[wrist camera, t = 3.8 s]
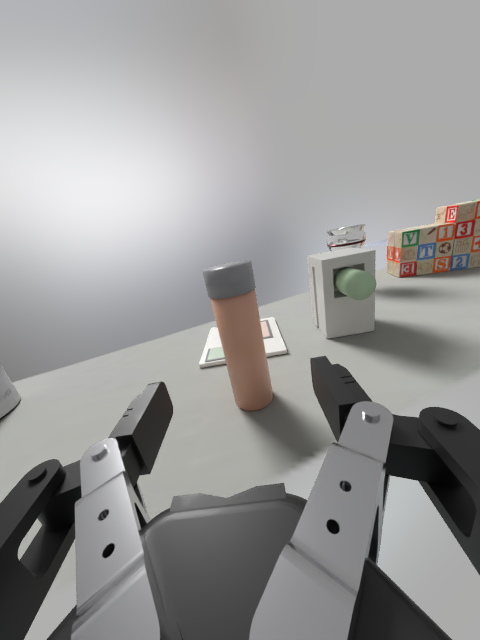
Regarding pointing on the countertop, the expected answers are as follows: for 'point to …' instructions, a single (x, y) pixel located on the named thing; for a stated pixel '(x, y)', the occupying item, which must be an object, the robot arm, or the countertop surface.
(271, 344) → the white square board
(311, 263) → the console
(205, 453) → the countertop surface
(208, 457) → the countertop surface
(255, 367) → the terracotta marker
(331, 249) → the wineglass
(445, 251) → the stack of blocks
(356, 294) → the button
